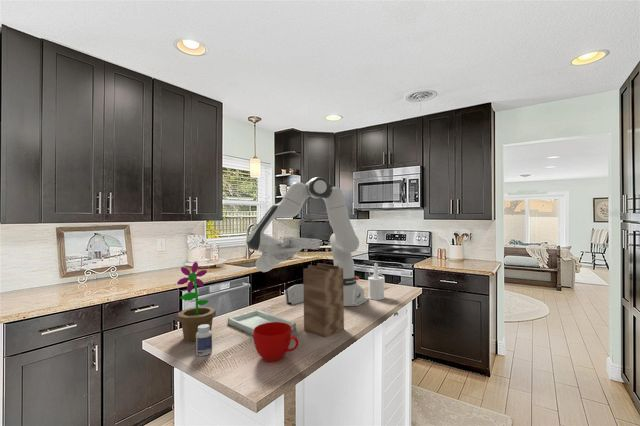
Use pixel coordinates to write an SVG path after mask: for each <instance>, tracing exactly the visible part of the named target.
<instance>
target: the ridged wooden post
mask: <svg viewBox="0 0 640 426" xmlns="http://www.w3.org/2000/svg"><path fill="white" fill-rule="evenodd" d="M302 270H303V273H302V274H303V276H302V277H303V279H302V280H303V283H302V284H303V285H304V302H303V330H304V331H306V332H309V333H310V334H311V333H312V334H314V335H317V336H320V337H323V338H327V337H329V336H332V335H334V334H336V333H338V332H340V331H342V330H344V329H345V312H344V308H345V306H344V295H343V268H339V266H334V264H327V263H320V262H317V263H316V265H312V264H308V265H307V268H303V269H302Z"/></svg>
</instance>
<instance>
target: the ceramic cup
mask: <svg viewBox="0 0 640 426" xmlns="http://www.w3.org/2000/svg"><path fill="white" fill-rule="evenodd" d="M253 334H254V336H253V341H254V346H255V350H256V351H257V353H258V355H259V357H261V358H262V360H263V361H264V362H269V363H273V362H278V361H280V360H282V359H283V357H284V356H285V355H286V353H289V352H293V351H295V350H296V349H297V348H298V346H299V342H300V341H299V339H298V338H297V336H295V335H292V331H291V326H290V325H288V324H286V323H281V322H270V323H264V324H261V325H259V326H257V327H255V329H254V332H253ZM291 340H294V342H295V344H294V346H293V347H292V348H290V345H291Z"/></svg>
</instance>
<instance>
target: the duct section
mask: <svg viewBox="0 0 640 426" xmlns="http://www.w3.org/2000/svg"><path fill="white" fill-rule="evenodd" d="M287 240H290V242H291V244H289V245H287V246H288V247H297V248H303V249H307V250H319V249H321V245H320V244H321V239H320V238H310V237H309V238H308V237H307V238H306V237H295V236H284V237H283V238H282V243H283V242H286V241H287Z"/></svg>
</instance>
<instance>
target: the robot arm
mask: <svg viewBox="0 0 640 426" xmlns="http://www.w3.org/2000/svg"><path fill="white" fill-rule="evenodd" d="M308 198H310V199H322V200H323V201H324V204H325V208H326V213H327V217H328V222H329V225H330V227H331V229H332V231H333V233H332V234H331V235H330V237H329V244H330V247H331V254H332V259H333V265H334V266H339V268H343V295H344V307H351V306H352V307H357V306H361V305H362V304H364V303H366V302H367V301H369V298H368V296H366V295H365V290H364V288H363V287H362V286H361V285H359V284H358V283H357V281H359V280H360V277H359V276H357V275H356V276H355V262H354V260H353V259H354V258H353V255H352V253H354V252H356V251H357V250H358V249H359V246H360V240H359V237H358V236H357V235H356V232H355V230H354V227H353V225H352V223H351V220H350V215H349V212H348V211H349V210H348V207H347V203H346V199H345V196H344V193H343V190H342V189H341V188H340V187H338V186H332V185H331V184H330V183H329V181H328V180H327V179H326V178H324V177H322V176H316V177H313V178H311V179H310V180H309V181H307V182H306V183H303V182H300V181H295V182H293V183H292V184H291V185H290V186H289V187H288V189H287V190H286V192H285V193H284V195H283V198H282V199H281V201H279V202H278V203H275V204H273V205H271V206H270V207H269V209H268V210H267V211H266V213H264V215H263V217H262V218H261V219H260V221H259V222H258V223H257V225H256V226H255V227H254V229H253V230H252V231H251V232H250V233H249V235H248V236H247V237H246V244H247V246H248V248H249V250H253V251H257V252H260V253H261V255H260V256H259V257H258V258H257V259H256V261H255V267H256V269H257V270H258V271H260V272H262V273H266V272H269V271H271V270H272V269H274V268H276V266H277V265H279V264H281V263H282V262H285V261H286V260H289V259H292V258H294V256H295V255H296V254H298V253H299V252H301V251H302V250H303V249H304V248H297V247H288V246H287V245H289V244H291V242H290V240H287V241H286V242H283V241H281V240H280V239H278V238H276V237H274V236H271V235H269V234H266V233H265V231H266V229H267V228H268V227H269V226H270V224H271V222H272V221H273V220H274V219H278V218H283V219H285V218H286V219H289V218H291V219H292V218H294V217H297V216H298V215H299V213H300V212H301V210H302V207H303V206H304V203H305V201H306V200H307V199H308Z"/></svg>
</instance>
